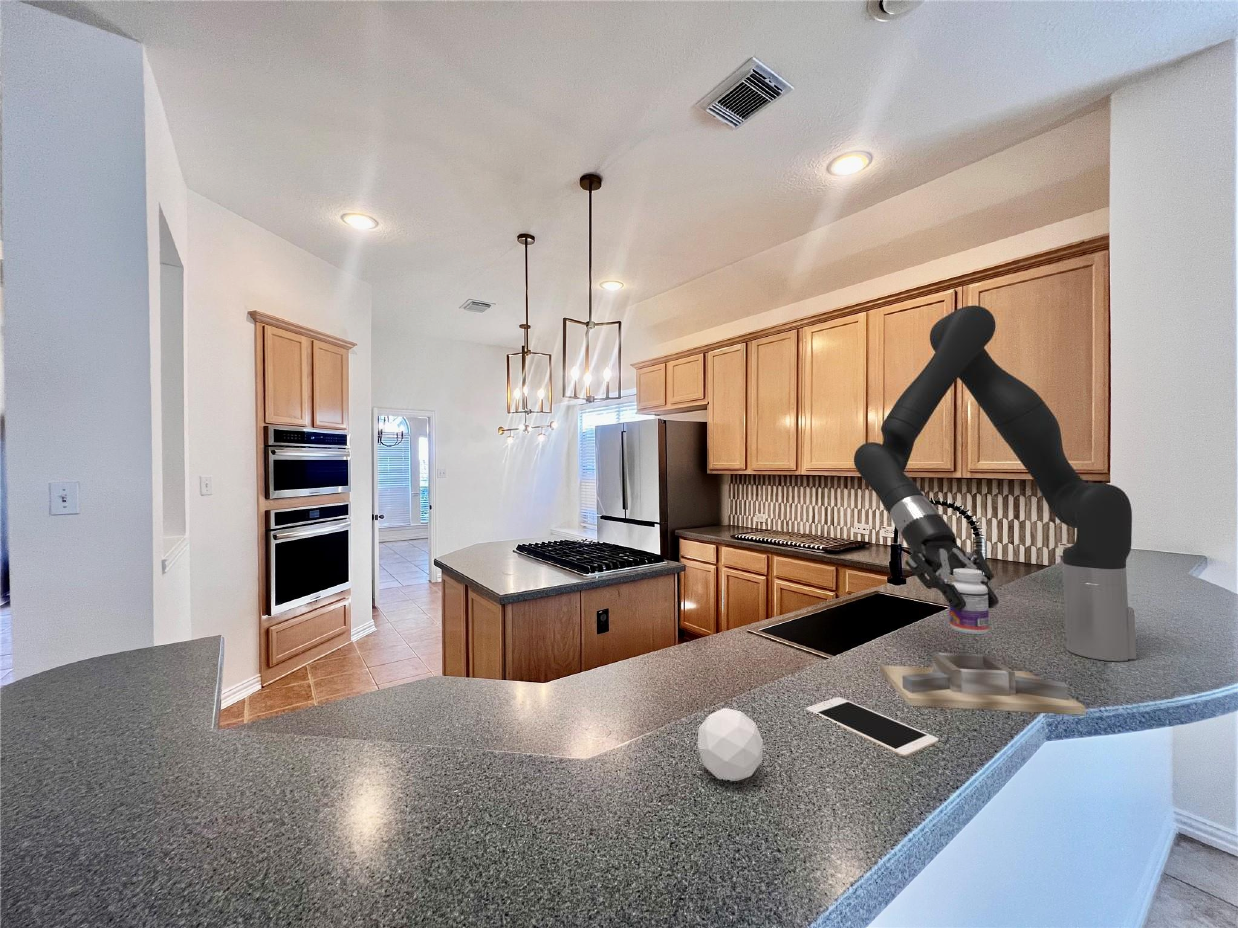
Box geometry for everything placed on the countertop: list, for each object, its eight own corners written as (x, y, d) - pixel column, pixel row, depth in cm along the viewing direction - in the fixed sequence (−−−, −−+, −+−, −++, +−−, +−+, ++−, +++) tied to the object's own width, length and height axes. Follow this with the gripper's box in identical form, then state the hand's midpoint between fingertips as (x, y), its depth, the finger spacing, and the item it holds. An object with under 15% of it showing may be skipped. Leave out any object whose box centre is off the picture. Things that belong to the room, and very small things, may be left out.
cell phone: (838, 700, 85) (838, 696, 85) (940, 743, 70) (940, 738, 70) (804, 711, 81) (804, 707, 81) (904, 759, 67) (904, 754, 67)
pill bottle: (946, 623, 90) (945, 566, 90) (984, 626, 88) (982, 568, 88) (953, 632, 85) (951, 572, 85) (993, 636, 83) (991, 574, 83)
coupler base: (1028, 678, 91) (1027, 651, 91) (1085, 714, 77) (1084, 682, 77) (880, 672, 95) (879, 646, 95) (909, 705, 81) (908, 674, 81)
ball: (733, 788, 65) (754, 723, 69) (761, 800, 58) (783, 728, 61) (679, 758, 65) (702, 695, 69) (700, 767, 58) (725, 697, 62)
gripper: (896, 513, 93) (952, 596, 81) (966, 511, 95) (1030, 591, 83) (876, 539, 98) (926, 621, 86) (944, 537, 100) (1001, 616, 88)
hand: (977, 606), depth 85 cm, fingers closed on pill bottle, 5 cm apart
